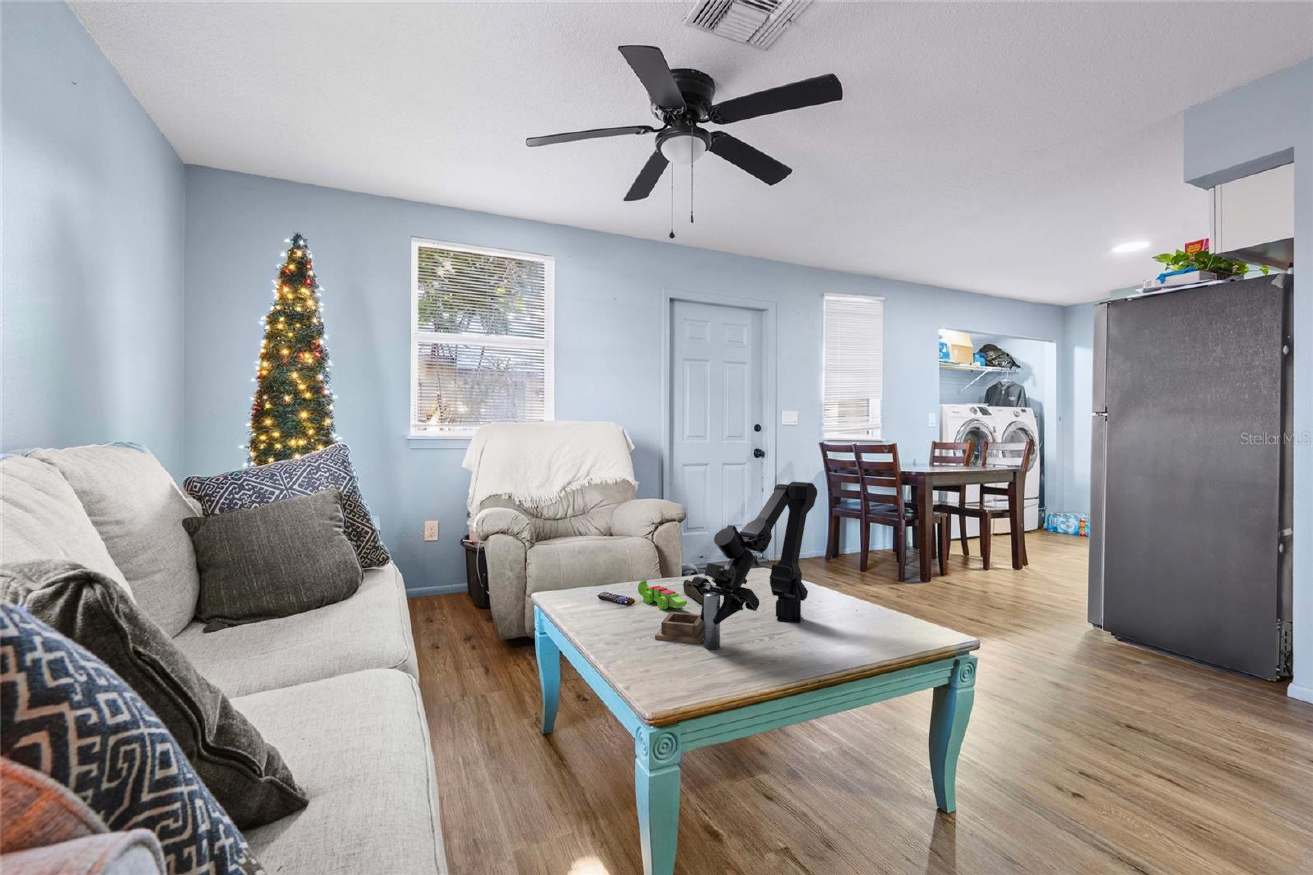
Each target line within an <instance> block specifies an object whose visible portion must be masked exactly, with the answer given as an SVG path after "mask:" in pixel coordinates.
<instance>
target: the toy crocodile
mask: <svg viewBox="0 0 1313 875" xmlns="http://www.w3.org/2000/svg"><path fill="white" fill-rule="evenodd" d="M637 591H638V593H639V595H640V596H642V598H643V602H644V603H645V604H647V605H650V604H652V603H653V602H655V603H656V604H657V607H658V609H659V610H661V611H663V610H667V609H668V608H669V607H670V608H674V609H680V608H683V607H686V605H687V604H688V600H687V599H684V598H683V597H682V596H680V595H679V592H676V591H675V590H672V589H668V588H667V587H664V586H661V585H655V586H650V585H648V582H647V580H646V579H645V580H642V581H640V582H639V583H638V585H637Z"/></svg>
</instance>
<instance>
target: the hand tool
mask: <svg viewBox="0 0 1313 875" xmlns="http://www.w3.org/2000/svg"><path fill="white" fill-rule="evenodd" d="M691 582H692V580H689V579H685V580H683V584H682V585H683V586H682V587H683V593H684V594H685V595H686V597H691V598H693V599H694V600H695V601H697V602H698V603H700V604H701V605H702V604H703V597H702V596H700V595H699V594H698V593H697V591H696V590H695V589H694V588H693V587H692V585H691V584H690V583H691Z"/></svg>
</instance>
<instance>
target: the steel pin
mask: <svg viewBox="0 0 1313 875" xmlns="http://www.w3.org/2000/svg"><path fill="white" fill-rule="evenodd" d="M720 607H721V595H720V594H719V593H714V592H709V593H705V594H704V640H703V648H704V649H705V650H709V651H717V650H719V649H721V622H720V623H719V624H717V625H715V624H714V620H715V617H716V615H717V613H718V611H719V609H720Z"/></svg>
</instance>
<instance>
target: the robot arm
mask: <svg viewBox="0 0 1313 875" xmlns="http://www.w3.org/2000/svg"><path fill="white" fill-rule="evenodd" d="M817 497H818V489H817V488H816V486H815V483H813V482H804V481H791V482H790V483H788V484H787V483H786V484H785V483H779V484H776V485H775V486H774V489H773V492H772V494H771V495H770V497H769V498H768V500H767V501H766V503H765V504H764V506H763V507H762V509H761V510H760V512H759V514H758V515H757V516H756V518H755V519H754V520H752V521H749V522H747V524H746V525H745V526H743V528H742V529H741V530H740V531H738V529H737V526H736V525H733V524H728V525H727V526H726V527H725V528H722V529H721V530H720V531H718V532H716V534H715V535H714V538H713V542H714V543H715V545H716V546H717V548H718V549H719V550H720V551H721V553H722V555H723V556H724V557H725V558H726V559H728V560H729V561H727V563H725V564H722V565H719V564H716V563H711V562H707V564H706V567H705V571H704V576H706V577H707V576H708V578H709V577H710V578H711V581H712V582H713V583H714V584H715V585H713V584H712V583H711V581H709V579H708V578H706V577H701V576H697V575H696V576H695V577H693V578H692V580H691V583H690V584H691V585H692V587H693V588H694V589H695V590H696V591H697V593H698V594H699V595H700V596H702V597H703V604H701V611H700V615H701V616H700V619H701V620H702V621H703V620H704V594H705V593H709V592H714V593H719V594H720V597H723V601H722V604H721V605H720V609H719V611H718V613H717V615H716V617H715V620H714V624H715V625H717V624H719V623H720V624H721V623H722V622H723V621H724V620H726V619H727V618H729V617H731V616H732V615H734V614H736V613H738V612H740V611H743V610H744V607H743V606H745V607H746V609H747V610H750V611H753V612H756V611H757V610H758V609H759V606H760V599H759V598H758V596H757V595H756V594H755V593H754V591H753V590H752V588H751V589H750V588H749V587H744V586H742V585H747V583H748V580H747V576H748V575H749V573H750V571H751V569H752V568H753V567H759V560H758V555H755V554H754V553H753V552H755V553H756V552H757V553H764V552H765V551H766V550H767V549H768V547H769V545H770V543H771V541H772V538H773V535H772V534H773V533H772V530H773V528H774V526H775V524H776V523H777V522H778V520H779V518H780V517H781V515H782V513H783V512H784V511H785V509H786V507H788V517H787V523H786V526H785V527H786V529H785V533H784V539H783V544H782V549H781V556H780V558H779V559H780V560H778V562H777V563H776V564H774V563H773V564H772V566H771V571H770V576H769V585H770V589H771V594H772V596H774V597H777V599H776V602H775V617H776V621H780V622H790V623H801V622H802V618H803V617H802V601H805V600H806V599H807V598H808V593H809V591H808V589H807V588H806V586H805V585H804V583H803V582H802V580H803V573H802V570H801V568H800V566H799V561H800V560H799V559H800V556H801V555H800V554H801V548H802V543H803V538H804V531H805V525H806V521H807V515H808V513H809V511H811V510H812V508H813V507H814V506H815V503H816V501H817V500H816V499H817ZM744 604H745V605H744Z"/></svg>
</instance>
